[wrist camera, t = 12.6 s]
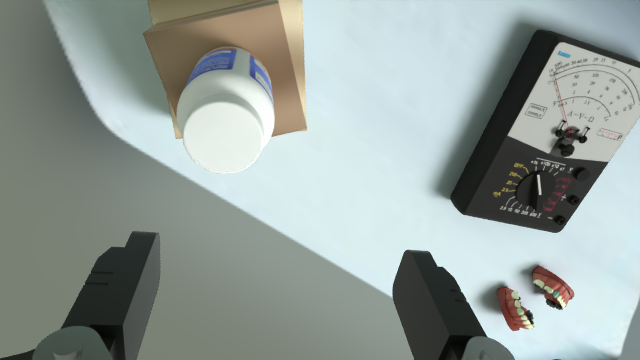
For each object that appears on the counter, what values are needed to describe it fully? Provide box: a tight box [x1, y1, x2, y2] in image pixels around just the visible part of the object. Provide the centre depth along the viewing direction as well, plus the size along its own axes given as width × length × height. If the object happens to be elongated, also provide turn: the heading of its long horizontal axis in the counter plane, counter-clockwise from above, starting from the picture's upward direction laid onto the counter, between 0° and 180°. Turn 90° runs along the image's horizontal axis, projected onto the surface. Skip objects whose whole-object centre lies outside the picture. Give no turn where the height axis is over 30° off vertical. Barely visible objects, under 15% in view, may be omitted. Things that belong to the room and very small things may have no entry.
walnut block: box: [143, 0, 307, 137], centre depth 31 cm, size 9×9×4 cm
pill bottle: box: [177, 47, 275, 174], centre depth 25 cm, size 5×5×10 cm
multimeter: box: [450, 30, 640, 233], centre depth 42 cm, size 13×19×5 cm
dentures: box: [497, 266, 574, 331], centre depth 54 cm, size 6×5×9 cm
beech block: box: [148, 0, 307, 139], centre depth 34 cm, size 11×11×4 cm
